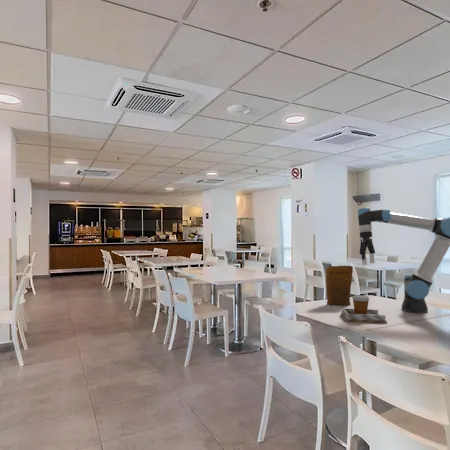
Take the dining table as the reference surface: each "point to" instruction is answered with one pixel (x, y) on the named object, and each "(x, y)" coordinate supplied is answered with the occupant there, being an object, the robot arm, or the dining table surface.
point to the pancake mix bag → (338, 285)
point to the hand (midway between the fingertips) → (368, 264)
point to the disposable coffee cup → (360, 304)
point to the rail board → (363, 316)
